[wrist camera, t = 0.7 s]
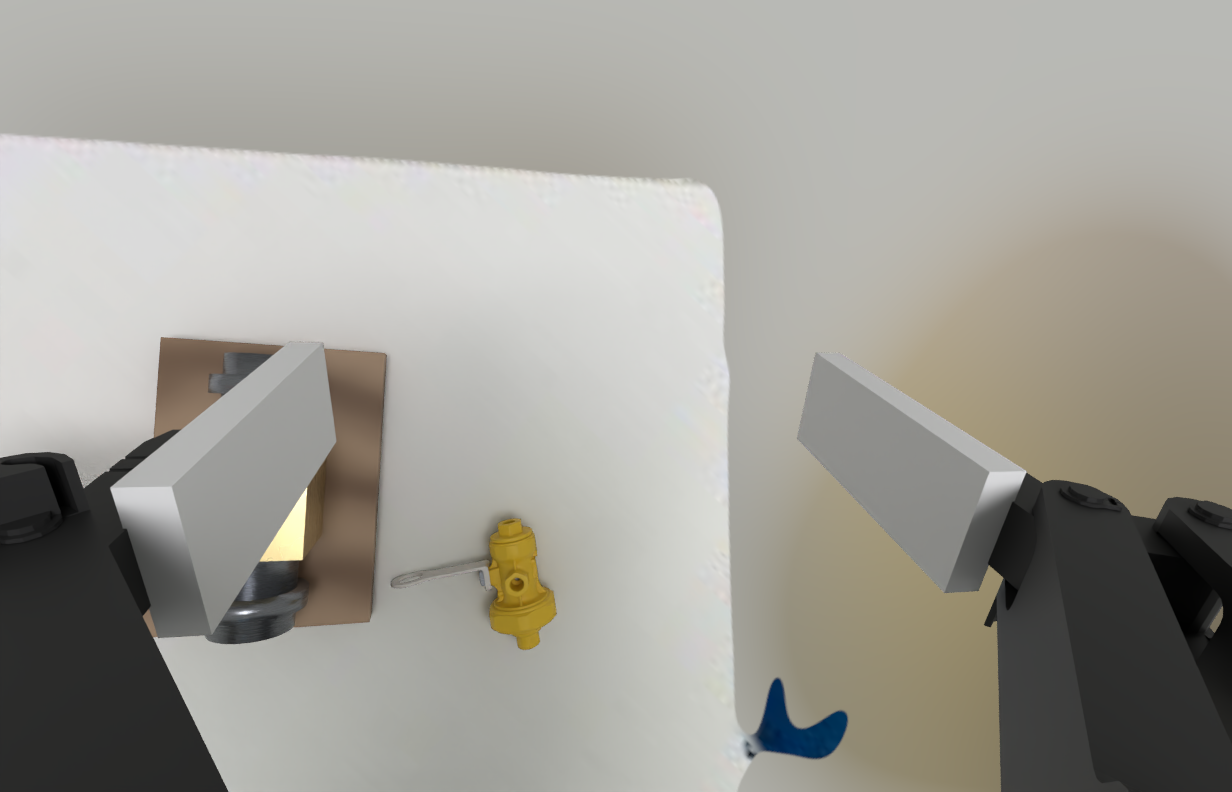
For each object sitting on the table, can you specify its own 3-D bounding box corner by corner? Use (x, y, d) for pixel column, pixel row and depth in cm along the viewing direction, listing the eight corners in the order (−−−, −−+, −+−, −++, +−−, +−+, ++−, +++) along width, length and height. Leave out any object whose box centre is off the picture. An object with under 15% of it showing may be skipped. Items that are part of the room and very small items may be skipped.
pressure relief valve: (540, 508, 48) (558, 623, 48) (393, 535, 46) (413, 654, 46) (542, 524, 42) (562, 654, 43) (375, 556, 41) (398, 691, 41)
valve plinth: (371, 612, 44) (369, 622, 42) (153, 626, 39) (139, 638, 37) (386, 355, 44) (384, 353, 43) (173, 340, 40) (160, 337, 38)
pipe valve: (319, 608, 41) (287, 670, 32) (206, 615, 39) (135, 683, 30) (334, 363, 42) (307, 351, 32) (224, 356, 40) (160, 341, 30)
